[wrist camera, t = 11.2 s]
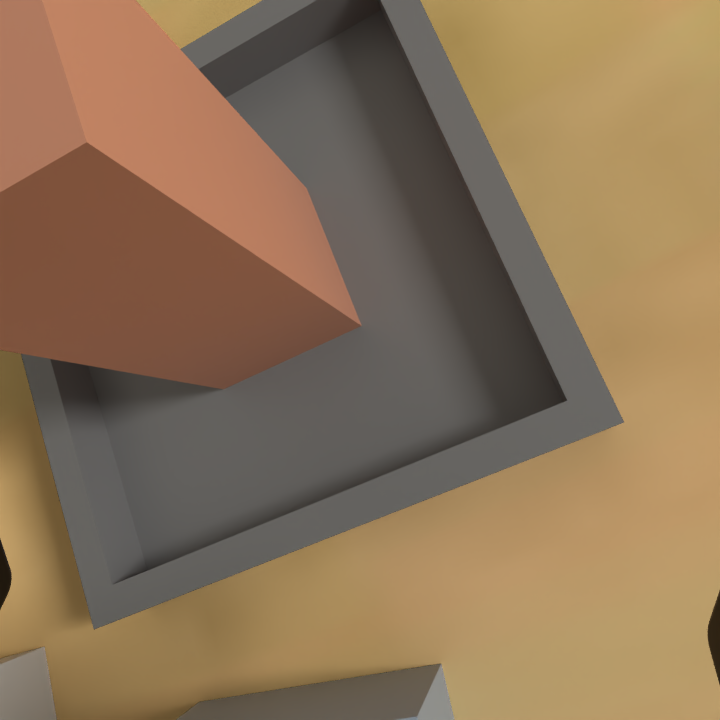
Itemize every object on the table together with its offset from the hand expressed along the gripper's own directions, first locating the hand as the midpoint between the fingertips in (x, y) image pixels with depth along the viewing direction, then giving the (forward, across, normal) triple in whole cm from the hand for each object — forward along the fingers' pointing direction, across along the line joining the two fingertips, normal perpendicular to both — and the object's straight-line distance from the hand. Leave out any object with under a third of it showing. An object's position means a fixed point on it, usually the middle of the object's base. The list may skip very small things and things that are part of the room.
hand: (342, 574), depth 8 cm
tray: (+14, +4, +2) cm, 15 cm away
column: (+13, +4, +1) cm, 14 cm away
